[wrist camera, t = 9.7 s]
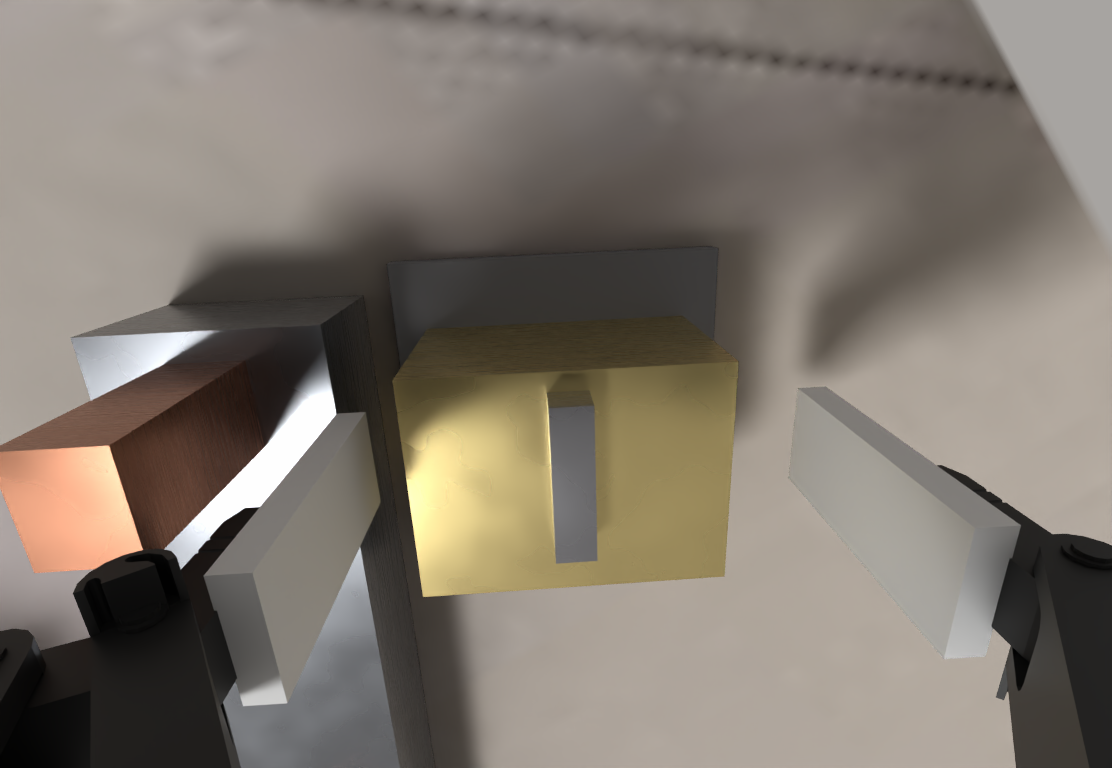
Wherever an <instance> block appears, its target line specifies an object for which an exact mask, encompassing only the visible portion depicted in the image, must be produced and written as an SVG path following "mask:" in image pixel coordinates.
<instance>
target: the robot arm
mask: <svg viewBox="0 0 1112 768" xmlns="http://www.w3.org/2000/svg"><path fill="white" fill-rule="evenodd" d="M788 478H789V479H790V480H791V481H792V483H793V484H794V485H795V486H796V487H797V488H798V490H799V491H800V492H801V493H802V494H803V495H804V497H805V498H806V499H807V500H808V501H809V502H810V504H811V505H812V506H813V507H814V508H815V509H816V511H817V512H818V513H819V514H820V515H821V516H822V518H823V519H824V520H825V521H826V522H827V523H828V525H829V526H830V527H831V528H832V529H833V530H834V532H835V533H836V534H837V535H838V536H839V537H840V539H841V540H842V541H843V542H844V543H845V544H846V546H847V547H848V548H849V549H850V550H851V551H852V553H853V554H854V555H855V556H856V557H857V558H858V560H859V561H860V562H861V563H862V564H863V565H864V567H865V568H866V569H867V570H868V571H869V572H870V574H871V575H872V576H873V577H874V578H875V579H876V581H877V582H878V583H879V584H880V585H881V586H882V588H883V589H884V590H885V591H886V592H887V593H888V595H889V596H890V597H891V598H892V599H893V600H894V602H895V603H896V604H897V605H898V606H899V607H900V609H901V610H902V611H903V612H904V613H905V614H906V616H907V617H908V618H909V619H910V620H911V621H912V623H913V624H914V625H915V626H916V627H917V628H918V630H919V631H920V632H921V633H922V634H923V635H924V637H925V638H926V639H927V640H928V641H929V642H930V644H931V645H932V646H933V647H934V648H935V649H936V651H937V652H938V653H939V654H940V655H941V656H942V658H943V659H953V658H968V657H983V656H986V653H987V649H988V645H989V641H990V638H991V634H992V630H993V628H994V629H995V630H996V631H997V632H998V633H999V634H1000V635H1001V636H1002V637H1003V638H1004V639H1005V640H1006V641H1007V642H1008V643H1009V644H1010V645H1011V647H1010V650H1009V654H1008V657H1007V661H1006V664H1005V668H1004V671H1003V675H1002V678H1001V682H1000V685H999V689H998V692H997V696H996V698H999V699H1002V700H1004V698H1005V696H1006V693H1007V692H1008V693H1009V703H1010V712H1011V722H1012V732H1013V742H1014V751H1015V761H1016V768H1112V546H1111V545H1109V544H1107V543H1104V542H1101V541H1098V540H1094V539H1091V538H1087V537H1084V536H1077V535H1070V534H1051V533H1050V532H1048V531H1047V530H1045V529H1044V528H1042V527H1041V526H1039V525H1038V524H1036V523H1035V522H1033V521H1032V520H1031V519H1029V518H1028V517H1026V516H1025V515H1023V514H1022V513H1020V512H1019V511H1017V510H1016V509H1014V508H1013V507H1012V506H1010V505H1009V504H1007V503H1002V500H1001V499H1000V498H998V497H997V496H995V495H994V494H993V493H991V492H987V491H986V489H985V488H984V487H982V486H981V485H979V484H978V483H977V482H975V481H974V480H972V479H971V478H969V477H968V476H966V475H963V474H961V473H959V472H956V471H954V470H952V469H949V468H947V467H944V466H942V465H935V464H934V463H932V462H931V461H930V460H928V459H927V458H925V457H924V456H923V455H921V454H920V453H918V452H917V451H915V450H914V449H913V448H911V447H910V446H908V445H907V444H906V443H904V442H903V441H901V440H900V439H899V438H897V437H896V436H894V435H893V434H892V433H890V432H889V431H887V430H886V429H885V428H883V427H882V426H880V425H879V424H877V423H876V422H875V421H873V420H872V419H870V418H869V417H868V416H866V415H865V414H863V413H862V412H861V411H859V410H858V409H856V408H855V407H854V406H852V405H851V404H849V403H848V402H847V401H845V400H844V399H842V398H841V397H839V396H838V395H837V394H835V393H834V392H832V391H831V390H830V389H828V388H827V387H811V388H798V392H797V401H796V411H795V420H794V429H793V439H792V448H791V457H790V467H789V476H788ZM380 502H381V501H380V495H379V489H378V483H377V477H376V471H375V465H374V459H373V453H372V447H371V441H370V435H369V429H368V423H367V417H366V412H357V413H339V414H336V415H335V416H334V418H333V419H332V420H331V421H330V422H329V424H328V425H327V426H326V427H325V429H324V430H323V431H322V432H321V433H320V435H319V436H318V437H317V438H316V439H315V441H314V442H313V443H312V444H311V446H310V447H309V448H308V449H307V450H306V452H305V453H304V454H303V455H302V457H301V458H300V459H299V460H298V461H297V463H296V464H295V465H294V466H293V467H292V469H291V470H290V471H289V472H288V474H287V475H286V476H285V477H284V478H283V480H282V481H281V482H280V483H279V485H278V486H277V487H276V488H275V489H274V491H273V492H272V493H271V494H270V496H269V497H268V498H267V499H266V500H265V502H264V503H263V504H262V505H261V506H260V507H251V508H244V509H243V510H241V511H240V512H238V513H236V514H235V515H233V516H232V517H230V518H229V519H227V520H226V521H224V522H223V523H222V524H221V525H220V526H219V527H218V529H217V530H216V531H215V532H214V533H213V534H212V535H211V536H210V540H207V541H206V542H205V543H204V544H203V545H202V547H201V548H200V549H199V550H198V553H197V554H194V556H193V557H192V558H191V559H190V560H189V561H188V562H187V563H186V565H185V566H184V567H183V568H182V569H180V566H179V562H178V559H177V557H176V556H175V554H174V553H173V552H172V551H169V550H165V549H146V550H141V551H137V552H133V553H129V554H125V555H123V556H120V557H118V558H115V559H113V560H111V561H108V562H106V563H104V564H103V565H101V566H99V567H98V568H96V569H94V570H93V571H91V572H89V573H88V574H87V575H86V576H85V577H84V578H83V579H82V580H81V581H80V582H79V583H78V584H77V586H76V588H75V590H74V592H73V595H74V597H75V600H76V602H77V605H78V607H79V610H80V612H81V615H82V617H83V620H84V622H85V625H86V627H87V630H88V632H89V635H90V638H86V639H83V640H79V641H75V642H71V643H68V644H64V645H60V646H56V647H53V648H49V649H45V650H41V651H40V650H39V647H38V645H37V643H36V641H35V638H34V636H33V635H32V634H31V633H30V632H29V631H28V630H20V629H10V630H4V631H0V768H241V766H240V762H239V758H238V754H237V750H236V746H235V743H234V739H233V735H232V731H231V727H230V723H229V720H228V716H227V713H226V710H225V707H224V704H223V701H224V700H225V698H226V696H227V694H228V693H229V691H230V689H231V688H232V686H233V684H234V683H235V681H236V684H237V687H238V691H239V694H240V697H241V701H242V704H243V706H254V705H269V704H284V703H288V701H289V699H290V697H291V695H292V692H293V690H294V688H295V686H296V684H297V682H298V679H299V677H300V675H301V673H302V671H303V669H304V667H305V664H306V662H307V660H308V658H309V656H310V654H311V651H312V649H313V647H314V645H315V643H316V641H317V638H318V636H319V634H320V632H321V630H322V628H323V625H324V623H325V621H326V619H327V617H328V615H329V612H330V610H331V608H332V606H333V604H334V602H335V600H336V597H337V595H338V593H339V591H340V589H341V587H342V584H343V582H344V580H345V578H346V576H347V574H348V571H349V569H350V567H351V565H352V563H353V561H354V558H355V556H356V554H357V552H358V550H359V548H360V545H361V543H362V541H363V539H364V537H365V535H366V532H367V530H368V528H369V526H370V524H371V522H372V520H373V517H374V515H375V513H376V511H377V509H378V507H379V504H380Z"/></svg>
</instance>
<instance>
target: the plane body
mask: <svg viewBox="0 0 1112 768" xmlns="http://www.w3.org/2000/svg"><path fill="white" fill-rule="evenodd" d="M71 341H72V344H73V347H74V350H75V353H76V356H77V359H78V362H79V365H80V368H81V371H82V374H83V377H84V380H85V383H86V386H87V389H88V392H89V395H90V398H91V401H89V402H87V403H85V404H83V405H81V406H79V407H77V408H75V409H73V410H71V411H69V412H67V413H65V414H63V415H61V416H59V417H57V418H55V419H53V420H51V421H49V422H47V423H45V424H43V425H41V426H39V427H37V428H35V429H33V430H31V431H29V432H27V433H25V434H23V435H21V436H19V437H17V438H15V439H13V440H11V441H9V442H7V443H5V444H3V445H1V446H0V489H1V491H2V494H3V496H4V499H5V501H6V504H7V506H8V509H9V511H10V513H11V516H12V518H13V521H14V523H15V526H16V528H17V531H18V533H19V536H20V538H21V541H22V543H23V546H24V548H25V550H26V553H27V555H28V558H29V560H30V563H31V565H32V568H33V570H34V573H42V572H57V571H72V570H87V569H96V568H98V567H99V566H101V565H103V564H104V563H106V562H108V561H111V560H113V559H115V558H118V557H120V556H123V555H125V554H129V553H133V552H137V551H141V550H146V549H165V550H169V551H172V552H173V553H174V554H175V556H176V557H177V559H178V562H179V566H180V569H182V568H183V567H184V566H185V565H186V563H187V562H188V561H189V560H190V559H191V558H192V557H193V556H194V554H197V553H198V550H199V549H200V548H201V547H202V545H203V544H204V543H205V542H206V541H207V540H210V536H211V535H212V534H213V533H214V532H215V531H216V530H217V529H218V527H219V526H220V525H221V524H222V523H223V522H224V521H226V520H227V519H229V518H230V517H232V516H233V515H235V514H236V513H238V512H240V511H241V510H243V509H244V508H251V507H260V506H261V505H262V504H263V503H264V502H265V500H266V499H267V498H268V497H269V496H270V494H271V493H272V492H273V491H274V489H275V488H276V487H277V486H278V485H279V483H280V482H281V481H282V480H283V478H284V477H285V476H286V475H287V474H288V472H289V471H290V470H291V469H292V467H293V466H294V465H295V464H296V463H297V461H298V460H299V459H300V458H301V457H302V455H303V454H304V453H305V452H306V450H307V449H308V448H309V447H310V446H311V444H312V443H313V442H314V441H315V439H316V438H317V437H318V436H319V435H320V433H321V432H322V431H323V430H324V429H325V427H326V426H327V425H328V424H329V422H330V421H331V420H332V419H333V418H334V416H335V415H336V414H339V413H357V412H366V417H367V423H368V429H369V435H370V441H371V447H372V453H373V459H374V465H375V471H376V477H377V483H378V489H379V495H380V501H381V502H380V504H379V507H378V509H377V511H376V513H375V515H374V517H373V520H372V522H371V524H370V526H369V528H368V530H367V532H366V535H365V537H364V539H363V541H362V543H361V545H360V548H359V550H358V552H357V554H356V556H355V558H354V561H353V563H352V565H351V567H350V569H349V571H348V574H347V576H346V578H345V580H344V582H343V584H342V587H341V589H340V591H339V593H338V595H337V597H336V600H335V602H334V604H333V606H332V608H331V610H330V612H329V615H328V617H327V619H326V621H325V623H324V625H323V628H322V630H321V632H320V634H319V636H318V638H317V641H316V643H315V645H314V647H313V649H312V651H311V654H310V656H309V658H308V660H307V662H306V664H305V667H304V669H303V671H302V673H301V675H300V677H299V679H298V682H297V684H296V686H295V688H294V690H293V692H292V695H291V697H290V699H289V701H288V703H284V704H269V705H254V706H243V704H242V701H241V697H240V694H239V691H238V687H237V684H236V681H235V683H234V684H233V686H232V688H231V689H230V691H229V693H228V694H227V696H226V698H225V700H224V701H223V704H224V707H225V710H226V713H227V716H228V720H229V723H230V727H231V731H232V735H233V739H234V743H235V746H236V750H237V754H238V758H239V762H240V766H241V768H435V765H434V758H433V752H432V745H431V739H430V732H429V725H428V719H427V712H426V706H425V699H424V693H423V686H422V679H421V673H420V666H419V660H418V653H417V646H416V640H415V633H414V627H413V620H412V614H411V607H410V600H409V594H408V587H407V581H406V574H405V568H404V561H403V554H402V548H401V541H400V535H399V528H398V522H397V515H396V508H395V502H394V495H393V489H392V482H391V476H390V469H389V462H388V456H387V449H386V443H385V436H384V430H383V423H382V416H381V410H380V403H379V397H378V390H377V383H376V377H375V370H374V364H373V357H372V351H371V344H370V337H369V331H368V324H367V318H366V311H365V305H364V298H363V296H345V297H325V298H305V299H285V300H265V301H245V302H225V303H205V304H184V305H167V306H164V307H161V308H158V309H155V310H152V311H149V312H146V313H143V314H140V315H137V316H134V317H131V318H128V319H125V320H122V321H119V322H116V323H113V324H110V325H107V326H104V327H101V328H98V329H95V330H92V331H89V332H86V333H83V334H80V335H77V336H74V337H71Z"/></svg>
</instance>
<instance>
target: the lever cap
mask: <svg viewBox="0 0 1112 768" xmlns="http://www.w3.org/2000/svg"><path fill="white" fill-rule="evenodd" d="M738 364H739V361H737V360H736V359H735V358H734V357H732V356H731V355H730V354H729V353H728V352H726V351H725V350H724V349H723V348H722V347H720V346H719V345H718V344H717V343H715V342H714V341H713V340H712V339H711V338H709V337H708V336H707V335H706V334H704V333H703V332H702V331H701V330H700V329H698V328H697V327H696V326H695V325H694V324H692V323H691V322H690V321H689V320H687V319H686V318H685V317H684V316H666V317H647V318H628V319H609V320H589V321H570V322H551V323H532V324H512V325H493V326H474V327H455V328H436V329H427V330H426V332H425V333H424V335H423V336H422V337H421V339H420V340H419V342H418V343H417V345H416V346H415V348H414V349H413V351H412V352H411V354H410V355H409V357H408V358H407V360H406V361H405V363H404V364H403V366H402V367H401V369H400V370H399V372H398V373H397V374H396V376H395V377H394V379H393V380H392V382H393V389H394V396H395V403H396V410H397V417H398V424H399V431H400V438H401V445H402V452H403V459H404V466H405V473H406V480H407V487H408V494H409V501H410V508H411V515H412V522H413V530H414V537H415V544H416V551H417V558H418V565H419V572H420V579H421V586H422V593H423V597H432V596H446V595H461V594H475V593H490V592H504V591H519V590H534V589H548V588H563V587H577V586H592V585H606V584H621V583H635V582H650V581H665V580H679V579H694V578H708V577H723V576H724V575H725V560H726V545H727V530H728V514H729V499H730V484H731V469H732V454H733V439H734V424H735V409H736V394H737V379H738Z"/></svg>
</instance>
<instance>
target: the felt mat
mask: <svg viewBox="0 0 1112 768" xmlns="http://www.w3.org/2000/svg"><path fill="white" fill-rule="evenodd" d="M717 265H718V248H716V247H713V246H708V247H687V248H666V249H645V250H624V251H603V252H582V253H561V254H540V255H519V256H499V257H478V258H457V259H436V260H415V261H394V262H390V263H388V264H387V270H388V278H389V285H390V293H391V300H392V307H393V315H394V322H395V329H396V337H397V344H398V351H399V359H400V366H401V367H402V366H403V364H404V363H405V361H406V360H407V358H408V357H409V355H410V354H411V352H412V351H413V349H414V348H415V346H416V345H417V343H418V342H419V340H420V339H421V337H422V336H423V335H424V333H425V332H426V330H427V329H436V328H455V327H474V326H493V325H512V324H532V323H551V322H570V321H589V320H609V319H628V318H647V317H666V316H684V317H685V318H686V319H687V320H689V321H690V322H691V323H692V324H694V325H695V326H696V327H697V328H698V329H700V330H701V331H702V332H703V333H704V334H706V335H707V336H708V337H709V338H711V339H712V340H713V341H714V324H715V304H716V284H717Z"/></svg>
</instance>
